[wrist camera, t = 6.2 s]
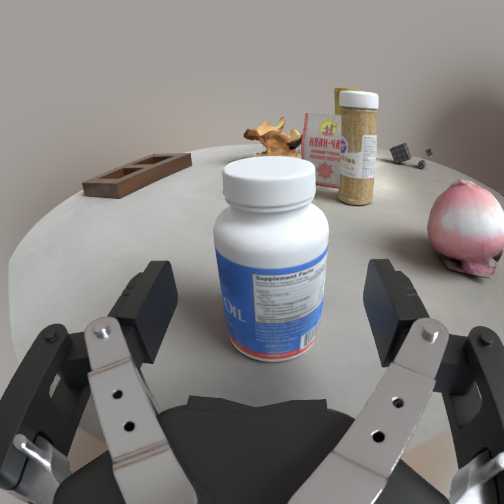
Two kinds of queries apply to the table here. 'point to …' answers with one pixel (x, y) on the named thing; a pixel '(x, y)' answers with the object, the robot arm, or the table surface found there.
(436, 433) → the table surface
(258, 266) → the pill bottle
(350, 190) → the sprinkles bottle
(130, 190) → the socket base
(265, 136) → the orange curved piece
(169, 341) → the table surface
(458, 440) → the robot arm
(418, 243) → the table surface
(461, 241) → the onion
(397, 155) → the building blocks
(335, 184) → the white gabled box
